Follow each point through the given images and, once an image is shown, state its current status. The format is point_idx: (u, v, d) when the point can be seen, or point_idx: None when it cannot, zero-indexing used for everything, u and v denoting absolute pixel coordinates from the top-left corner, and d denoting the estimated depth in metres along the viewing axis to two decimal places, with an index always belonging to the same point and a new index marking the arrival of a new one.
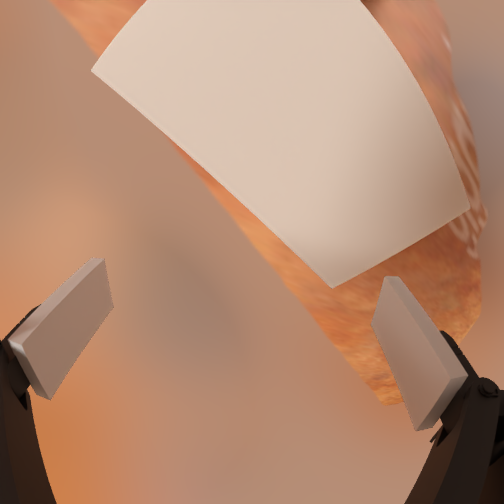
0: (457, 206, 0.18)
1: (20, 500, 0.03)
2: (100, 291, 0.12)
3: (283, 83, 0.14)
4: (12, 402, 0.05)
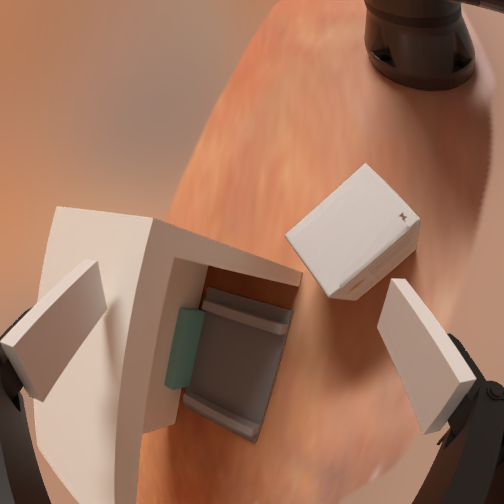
0: None
1: (15, 500, 0.03)
2: (93, 293, 0.12)
3: None
4: (5, 403, 0.05)
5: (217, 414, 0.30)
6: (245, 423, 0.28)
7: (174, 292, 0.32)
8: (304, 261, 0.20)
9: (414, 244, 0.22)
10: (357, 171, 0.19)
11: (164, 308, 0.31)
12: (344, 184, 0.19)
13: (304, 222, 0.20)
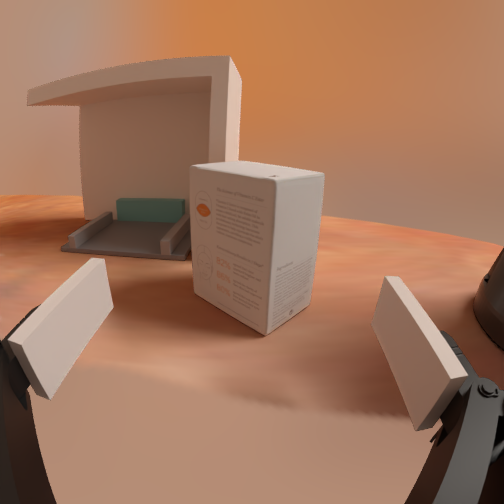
0: None
1: (20, 500, 0.03)
2: (100, 291, 0.12)
3: None
4: (12, 402, 0.05)
5: (91, 223, 0.34)
6: (80, 236, 0.31)
7: None
8: (221, 162, 0.22)
9: (263, 286, 0.18)
10: (312, 171, 0.20)
11: (183, 181, 0.39)
12: None
13: (255, 162, 0.23)
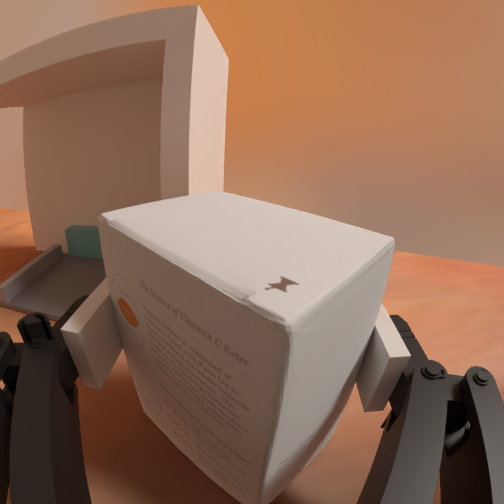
0: None
1: (57, 503, 0.03)
2: None
3: None
4: (59, 397, 0.06)
5: (30, 265, 0.22)
6: (12, 286, 0.19)
7: None
8: (170, 199, 0.11)
9: (250, 481, 0.07)
10: (366, 230, 0.08)
11: None
12: (329, 219, 0.09)
13: (239, 197, 0.11)
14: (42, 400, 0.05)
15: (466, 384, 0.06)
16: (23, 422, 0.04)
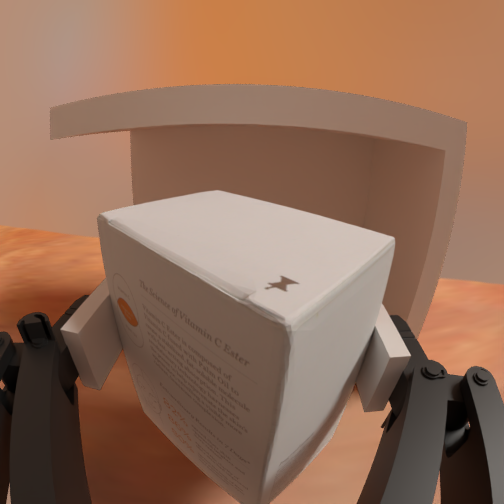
0: None
1: (57, 503, 0.03)
2: None
3: None
4: (59, 397, 0.06)
5: None
6: None
7: None
8: (170, 198, 0.11)
9: (250, 481, 0.07)
10: (367, 229, 0.08)
11: None
12: (329, 219, 0.09)
13: (239, 196, 0.11)
14: (42, 400, 0.05)
15: (466, 384, 0.06)
16: (23, 422, 0.04)
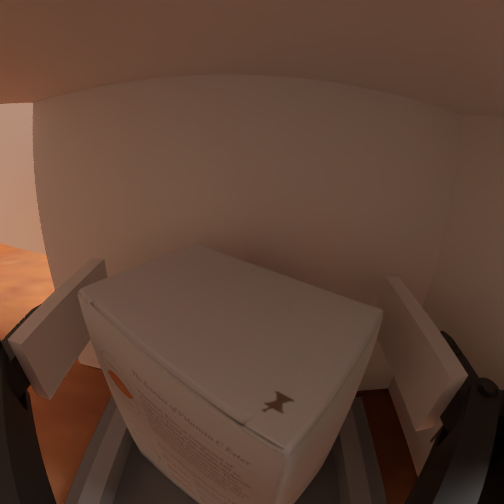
0: None
1: (20, 500, 0.03)
2: None
3: None
4: (12, 402, 0.05)
5: (111, 452, 0.11)
6: None
7: None
8: (149, 262, 0.10)
9: None
10: (354, 300, 0.08)
11: None
12: (316, 288, 0.09)
13: (221, 256, 0.11)
14: None
15: None
16: None
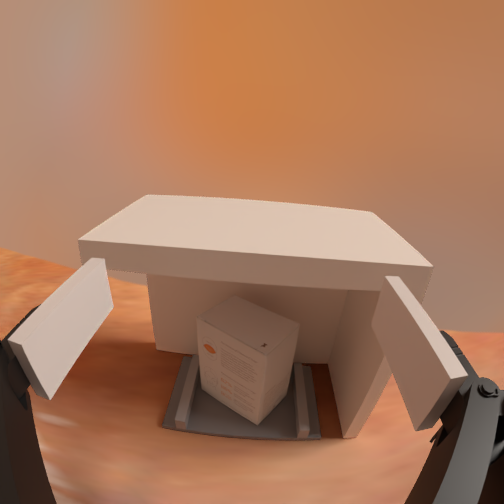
0: (96, 234, 0.18)
1: (20, 500, 0.03)
2: (100, 291, 0.12)
3: (297, 223, 0.23)
4: (12, 402, 0.05)
5: (190, 387, 0.29)
6: (187, 414, 0.26)
7: (305, 334, 0.34)
8: (218, 304, 0.28)
9: (256, 403, 0.25)
10: (290, 320, 0.27)
11: None
12: (278, 315, 0.27)
13: (245, 301, 0.29)
14: None
15: None
16: None
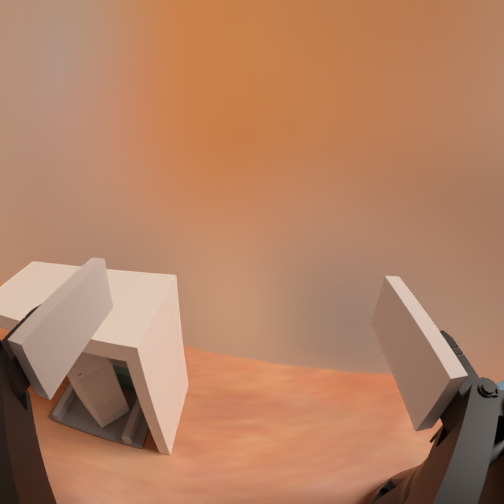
0: None
1: (20, 500, 0.03)
2: (100, 291, 0.12)
3: None
4: (12, 402, 0.05)
5: (67, 394, 0.35)
6: (61, 412, 0.32)
7: None
8: None
9: (91, 411, 0.31)
10: (106, 359, 0.32)
11: None
12: None
13: None
14: None
15: None
16: None
